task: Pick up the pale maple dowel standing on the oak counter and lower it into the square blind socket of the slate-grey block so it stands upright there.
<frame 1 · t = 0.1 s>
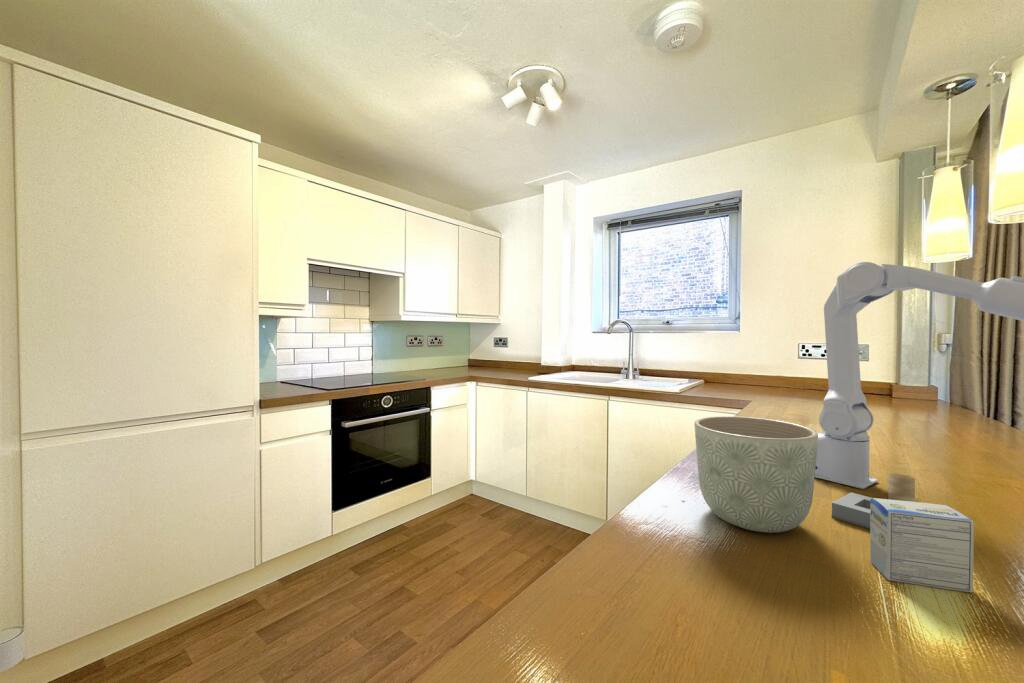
maple pin: (901, 512, 67), on the countertop
planter: (752, 521, 64), on the countertop
medicine box: (918, 579, 49), on the countertop
hole block: (876, 521, 64), on the countertop
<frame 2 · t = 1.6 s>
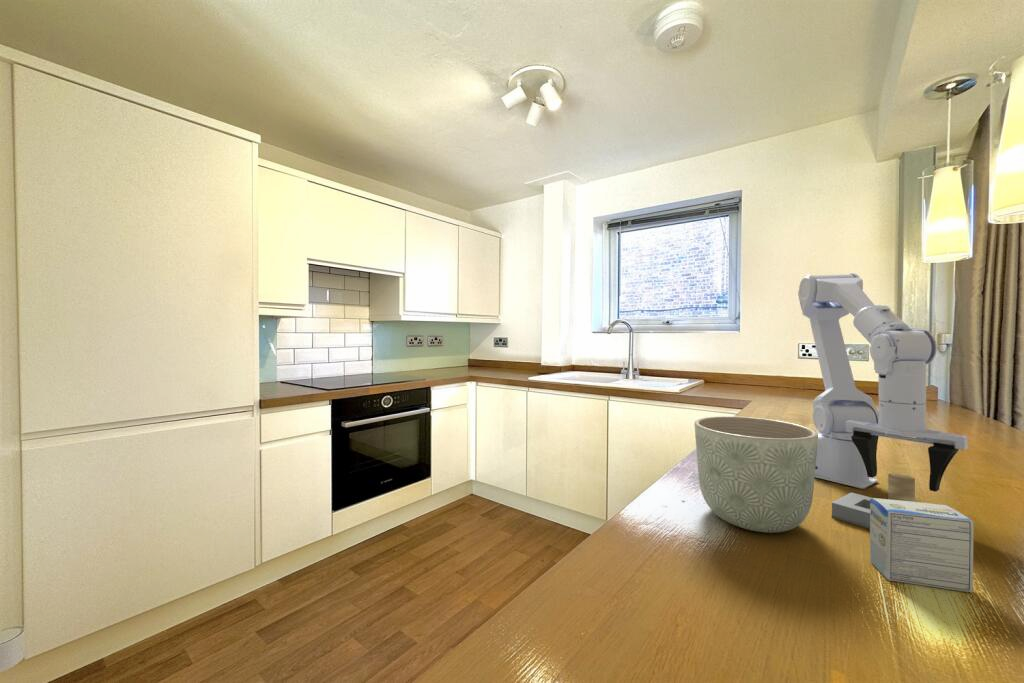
hand: (901, 482, 67), 5 cm above the countertop, fingers open, 7 cm apart
nothing on the countertop moved.
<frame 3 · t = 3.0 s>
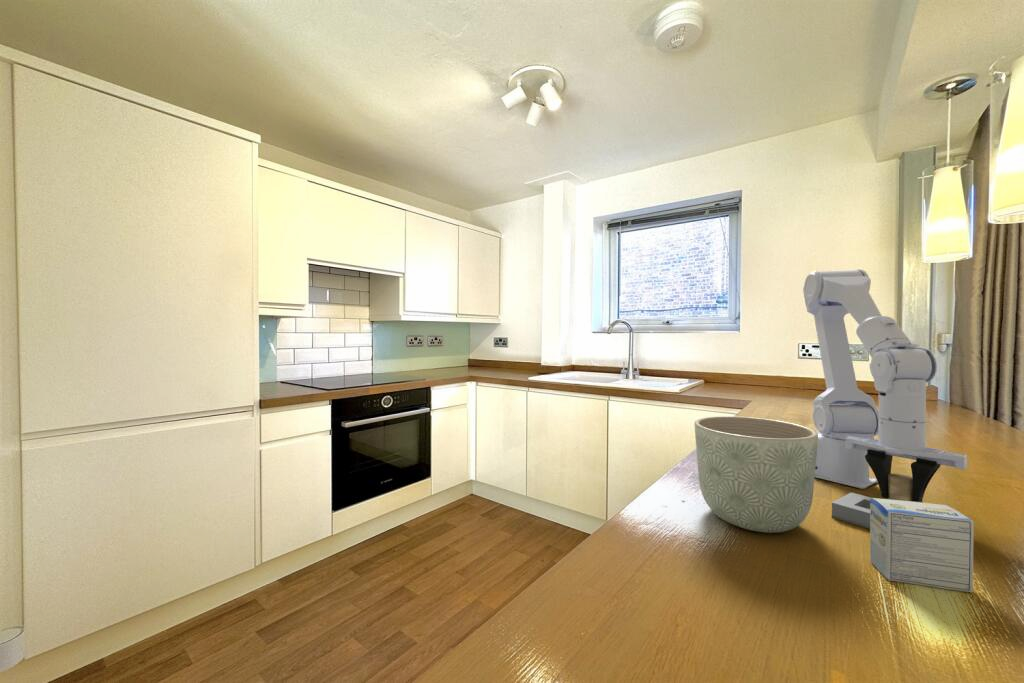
hand: (901, 500, 67), 2 cm above the countertop, fingers closed on maple pin, 3 cm apart
maple pin: (901, 512, 67), on the countertop, touching gripper
everything else where it was.
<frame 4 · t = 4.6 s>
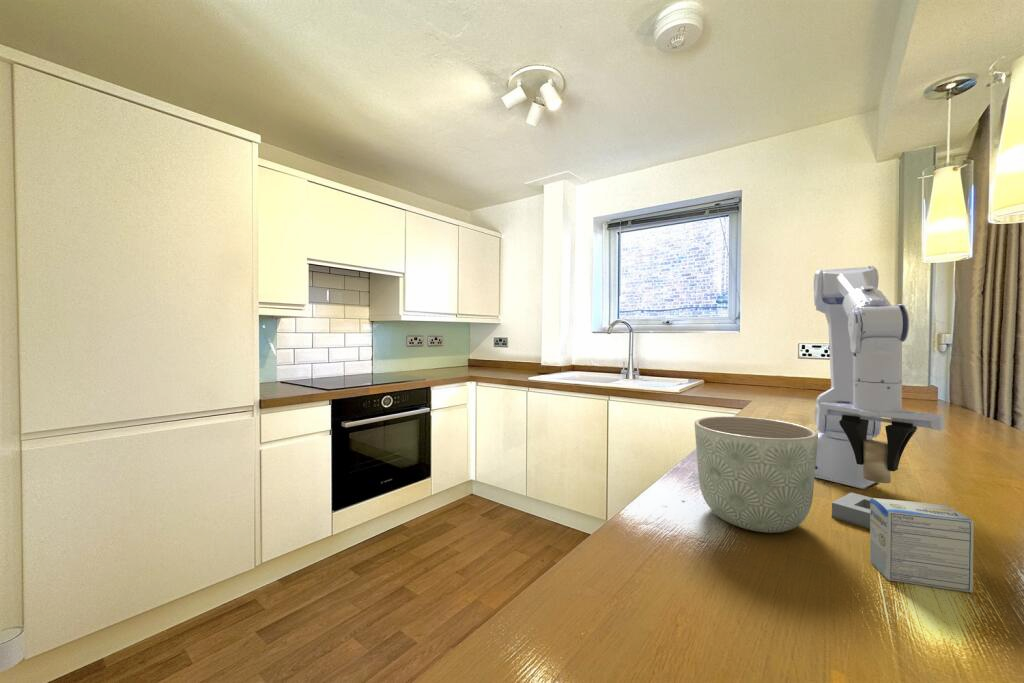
hand: (876, 466, 63), 9 cm above the countertop, fingers closed on maple pin, 3 cm apart
maple pin: (876, 479, 63), point 7 cm above the countertop, touching gripper
everything else where it was.
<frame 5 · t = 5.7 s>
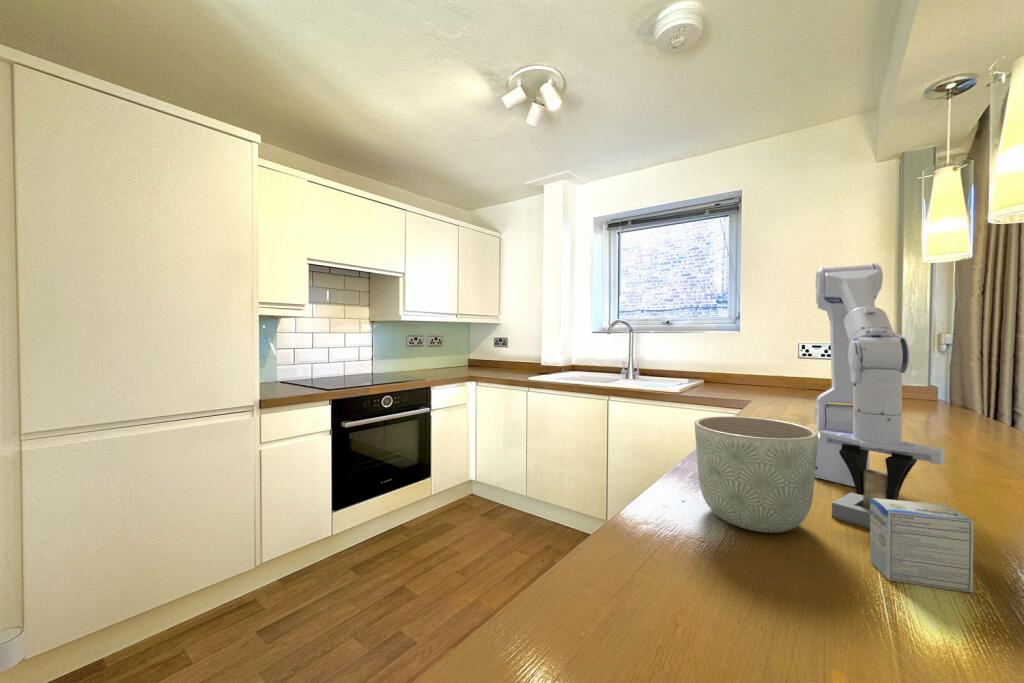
hand: (876, 497, 63), 4 cm above the countertop, fingers closed on maple pin, 3 cm apart
maple pin: (876, 510, 64), point 2 cm above the countertop, touching gripper
everything else where it was.
when the fingers open (4 cm above the countertop, at t = 6.4 s): maple pin drops 1 cm, resting on hole block.
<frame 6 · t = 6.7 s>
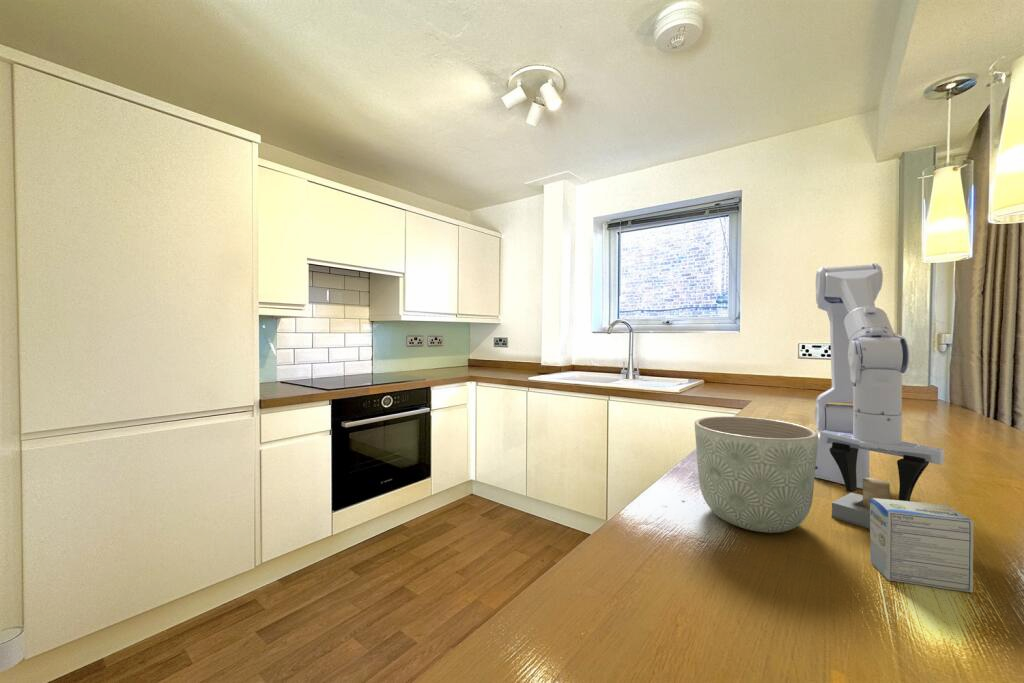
hand: (876, 497, 63), 4 cm above the countertop, fingers open, 6 cm apart
maple pin: (876, 518, 64), resting on hole block
everything else where it was.
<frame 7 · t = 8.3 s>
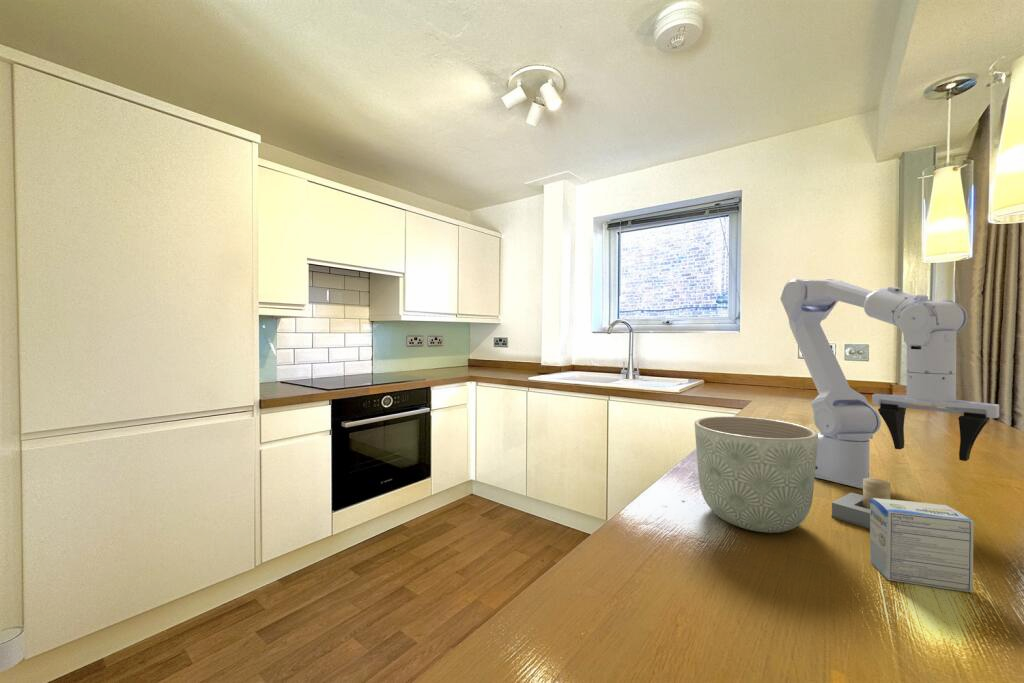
hand: (930, 453, 67), 10 cm above the countertop, fingers open, 7 cm apart
nothing on the countertop moved.
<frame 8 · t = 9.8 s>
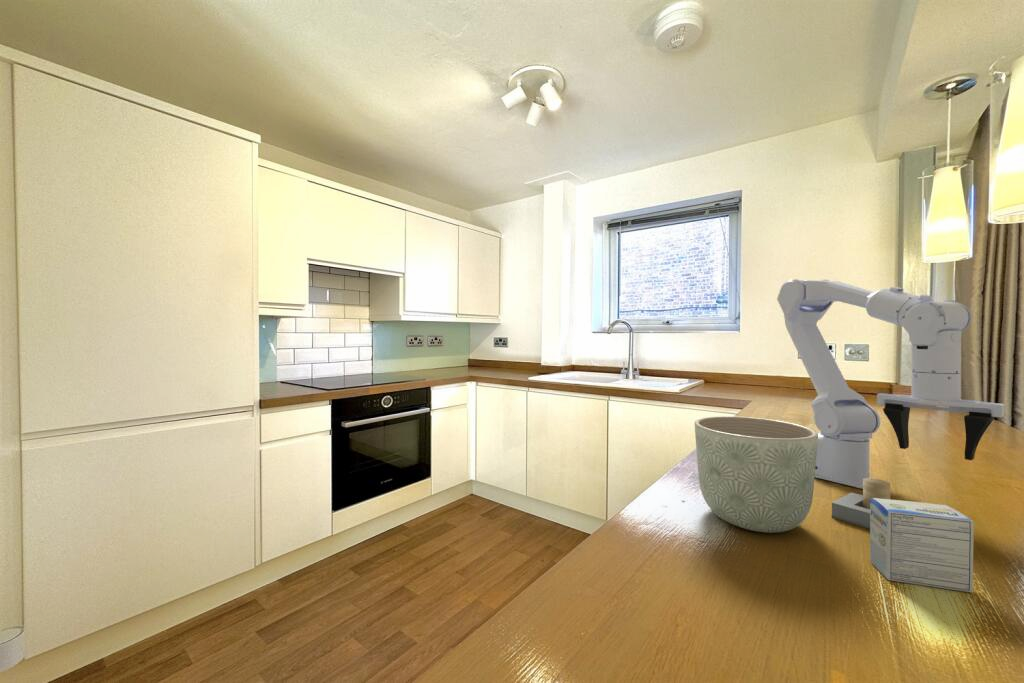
hand: (935, 453, 67), 10 cm above the countertop, fingers open, 7 cm apart
nothing on the countertop moved.
at the end: maple pin 0.0 cm off-centre on the hole block, point 0.4 cm above the hole block's base; maple pin tilted 0°; the gripper is holding nothing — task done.
